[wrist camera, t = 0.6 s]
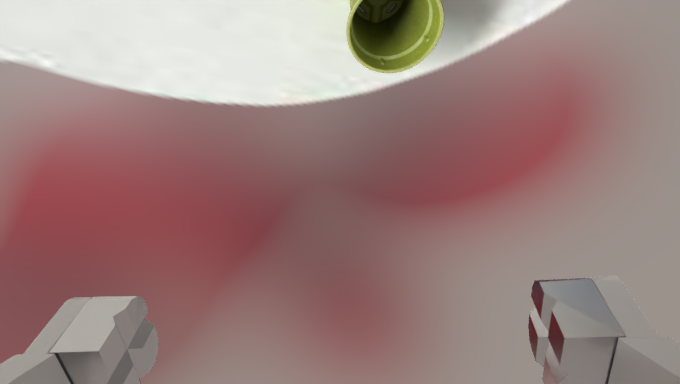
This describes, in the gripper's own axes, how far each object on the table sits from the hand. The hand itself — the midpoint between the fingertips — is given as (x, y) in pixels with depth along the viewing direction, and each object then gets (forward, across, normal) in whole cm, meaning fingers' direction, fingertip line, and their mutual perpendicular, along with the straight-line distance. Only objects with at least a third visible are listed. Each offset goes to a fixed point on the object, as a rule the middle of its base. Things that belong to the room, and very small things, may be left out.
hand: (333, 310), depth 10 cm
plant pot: (+49, -1, 0) cm, 49 cm away
